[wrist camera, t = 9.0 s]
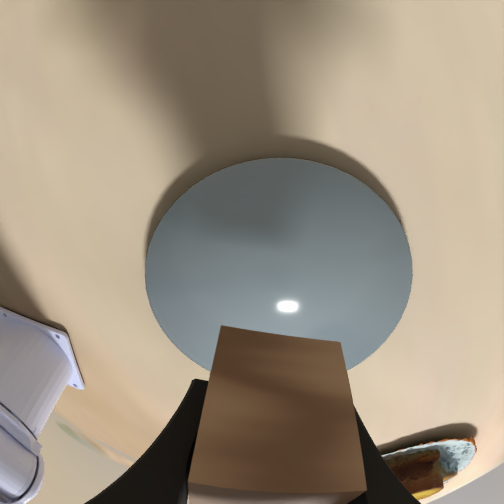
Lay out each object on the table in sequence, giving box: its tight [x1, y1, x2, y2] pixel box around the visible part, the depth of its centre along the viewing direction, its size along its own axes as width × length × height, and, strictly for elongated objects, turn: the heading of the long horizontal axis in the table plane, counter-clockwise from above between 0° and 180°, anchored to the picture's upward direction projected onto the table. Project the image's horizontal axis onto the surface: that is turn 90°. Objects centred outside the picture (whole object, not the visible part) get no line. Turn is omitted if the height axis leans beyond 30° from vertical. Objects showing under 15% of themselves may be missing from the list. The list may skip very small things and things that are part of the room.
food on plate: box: [382, 437, 477, 500], centre depth 30 cm, size 25×25×7 cm
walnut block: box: [188, 325, 367, 504], centre depth 9 cm, size 4×4×6 cm
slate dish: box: [145, 158, 413, 371], centre depth 18 cm, size 16×16×1 cm
